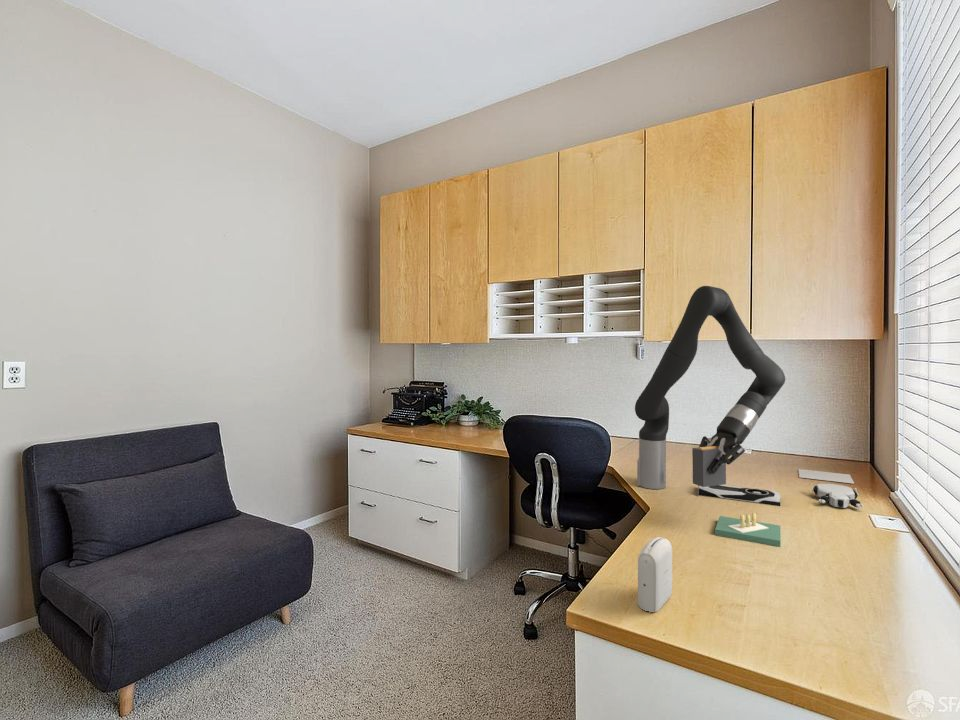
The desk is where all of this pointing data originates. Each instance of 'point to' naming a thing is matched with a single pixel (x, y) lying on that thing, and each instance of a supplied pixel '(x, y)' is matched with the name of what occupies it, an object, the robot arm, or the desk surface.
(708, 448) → the block
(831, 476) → the paper stack
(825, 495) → the robot toy
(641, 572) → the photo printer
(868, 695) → the desk surface
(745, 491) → the graphics card
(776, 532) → the header board
